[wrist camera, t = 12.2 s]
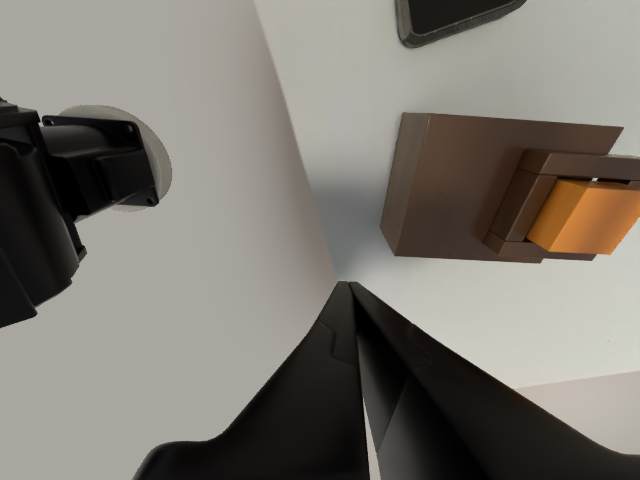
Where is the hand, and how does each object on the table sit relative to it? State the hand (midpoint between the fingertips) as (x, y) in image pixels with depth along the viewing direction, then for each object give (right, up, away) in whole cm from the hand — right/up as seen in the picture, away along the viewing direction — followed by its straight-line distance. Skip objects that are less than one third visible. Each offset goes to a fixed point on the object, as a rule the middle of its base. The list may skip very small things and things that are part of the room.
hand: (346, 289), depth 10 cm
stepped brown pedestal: (+11, +7, +11) cm, 17 cm away
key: (+15, +4, +5) cm, 16 cm away
